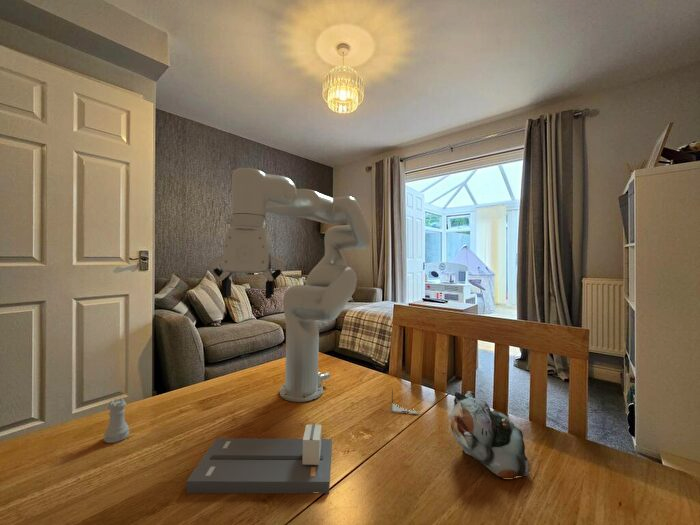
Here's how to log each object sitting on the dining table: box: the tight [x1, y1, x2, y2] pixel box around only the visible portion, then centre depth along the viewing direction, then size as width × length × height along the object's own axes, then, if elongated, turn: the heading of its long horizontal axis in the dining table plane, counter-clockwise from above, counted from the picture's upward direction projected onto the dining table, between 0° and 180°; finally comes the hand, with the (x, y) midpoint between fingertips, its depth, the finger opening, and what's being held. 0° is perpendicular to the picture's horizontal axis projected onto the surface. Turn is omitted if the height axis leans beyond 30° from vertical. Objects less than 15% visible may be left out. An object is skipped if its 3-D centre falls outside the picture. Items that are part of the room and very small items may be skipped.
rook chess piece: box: [103, 398, 131, 444], centre depth 65 cm, size 4×4×8 cm
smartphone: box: [390, 402, 421, 414], centre depth 85 cm, size 7×1×15 cm
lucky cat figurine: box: [449, 390, 530, 479], centre depth 61 cm, size 15×12×14 cm
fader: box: [302, 423, 323, 465], centre depth 57 cm, size 3×5×5 cm, turn 1°
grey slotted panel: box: [185, 437, 333, 494], centre depth 57 cm, size 24×12×2 cm, turn 91°
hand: (247, 297), depth 70 cm, fingers open, 9 cm apart
